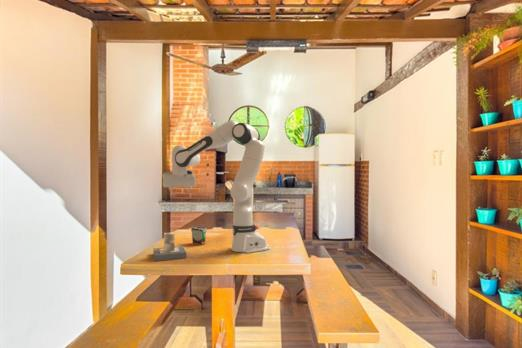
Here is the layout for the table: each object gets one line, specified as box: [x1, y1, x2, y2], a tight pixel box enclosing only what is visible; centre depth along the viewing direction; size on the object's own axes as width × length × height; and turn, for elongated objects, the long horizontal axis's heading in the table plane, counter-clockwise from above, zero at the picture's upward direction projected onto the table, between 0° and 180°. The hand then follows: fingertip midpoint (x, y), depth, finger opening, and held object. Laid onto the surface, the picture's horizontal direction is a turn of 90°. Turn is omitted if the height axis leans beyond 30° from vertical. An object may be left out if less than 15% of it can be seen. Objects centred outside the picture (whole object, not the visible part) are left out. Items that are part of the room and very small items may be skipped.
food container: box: [190, 226, 208, 246], centre depth 214 cm, size 12×6×10 cm, turn 47°
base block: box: [152, 245, 187, 262], centre depth 184 cm, size 16×16×3 cm
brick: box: [163, 231, 176, 251], centre depth 184 cm, size 5×5×9 cm
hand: (179, 194), depth 213 cm, fingers open, 8 cm apart
